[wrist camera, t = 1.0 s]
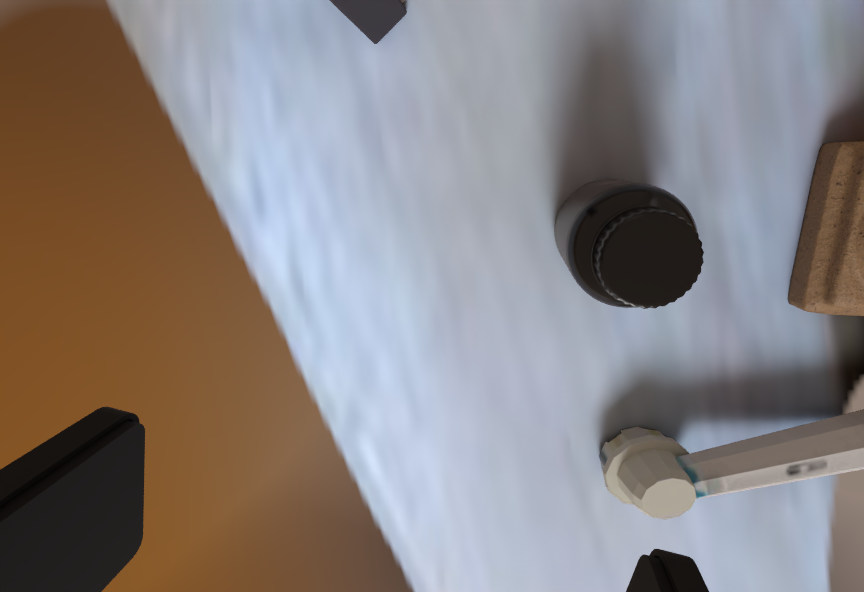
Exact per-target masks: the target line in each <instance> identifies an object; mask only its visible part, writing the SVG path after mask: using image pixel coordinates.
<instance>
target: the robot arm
mask: <svg viewBox="0 0 864 592" xmlns="http://www.w3.org/2000/svg"><path fill="white" fill-rule="evenodd" d="M144 449H145V428H144V426H143V425H142V424H140V423H139V418H138V417H137V415H135V414H133V413H129V412H126V411H122V410H118V409H114V408H110V407H102V408H100V409H97V410H96V411H94V412H92V413H91V414H89V415H88V416H86V417H84V418H83V419H81V420H80V421H78V422H76V423H75V424H73V425H71V426H70V427H68V428H67V429H65V430H63V431H62V432H60V433H59V434H57V435H55V436H54V437H52V438H50V439H49V440H47V441H46V442H44V443H42V444H41V445H39V446H38V447H36V448H34V449H33V450H32V451H30V452H28V453H26V454H25V455H23V456H22V457H20V458H19V459H17V460H15V461H14V462H12V463H10V464H9V465H7V466H5V467H4V468H2V469H1V470H0V592H101V591H102V590H103V589H104V588H105V587H106V586H107V585H108V584H109V582H111V580H112V579H113V578H114V577H115V576H116V575H117V574H118V573H119V572H120V571H121V570H122V569H123V568H124V566H125V565H126V564H127V563H128V562H129V561H130V560H131V559H132V558H133V556H134V555H135V554H136V552H137V551H138V549H139V547H140V545H141V541H142V537H143V506H144V505H143V504H144V454H145V453H144V452H145V451H144ZM626 592H709V591H708V589H707V586H706V584H705V582H704V580H703V578H702V576H701V574H700V572H699V570H698V567H697V565H696V564H695V562H694V561H693V559H691V558H690V557H687V556H684V555H680V554H676V553H672V552H668V551H664V550H660V549H654V550H653V551H652V552H651V554H650V556H648V555H642V556H641V557H640V559H639V561H638V563H637V566H636V568H635V571H634V573H633V576H632V578H631V581H630V583H629V586H628V588H627V591H626Z"/></svg>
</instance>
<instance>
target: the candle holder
mask: <svg viewBox="0 0 864 592" xmlns="http://www.w3.org/2000/svg"><path fill="white" fill-rule="evenodd" d="M788 301H789V304H791V305H793V306H796V307H798V308H800V309H802V310H805V311H808V312H815V313H824V314H834V315H855V316H864V141H856V142H832V143H827V144H823V146H822V148H821V149H820V151H819V155H818V159H817V162H816V166H815V170H814V174H813V178H812V183H811V188H810V192H809V197H808V202H807V206H806V211H805V216H804V220H803V225H802V230H801V234H800V239H799V244H798V248H797V253H796V258H795V262H794V267H793V272H792V276H791V282H790V288H789V295H788Z"/></svg>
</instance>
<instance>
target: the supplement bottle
mask: <svg viewBox="0 0 864 592" xmlns="http://www.w3.org/2000/svg"><path fill="white" fill-rule="evenodd" d="M698 237H699V236H698V232H697V227H696V224H695V221H694V219H693V217H692V215H691V213H690V212H689V210H688V208H687V207H686V206H685V205H684V204H683V203H682V202H681V201H680V200H679V199H678V198H677V197H675V196H674V195H673V194H671V193H669V192H667V191H665V190H663V189H661V188H658V187H655V186H651V185H647V184H641V183H634V182H628V181H621V180H599V181H595V182H592V183H589V184H587V185H585V186H583V187H581V188H579V189H578V190H576V191H575V192H574V193H573V194H571V195H570V196H569V197H568V199H567V200H566V201H565V202H564V204H563V205H562V207H561V209H560V211H559V213H558V215H557V219H556V223H555V241H556V245H557V248H558V250H559V253H560V255H561V257H562V258H563V260H564V262H565V264H566V265H567V267H568V269H569V271H570V272H571V274H572V276H573V277H574V279H575V280H576V282H577V283H578V284H579V286H580V287H581V288H582V289H583V290H584V291H585V292H586V293H587V294H589V295H590V296H591V297H593V298H594V299H596V300H598V301H600V302H602V303H605V304H608V305H611V306H616V307H624V308H633V307H641V308H644V309H646V308H649V307H651V308H657V307H658V306H665V305H667V304H668V303H670V302H675V301H676V300H677V298H679V297H682V296H683V295H684V294H685V292H686V291H688V290H690V289H691V287H692V284H693V283H695V282H696V281H697V276H698V275H699V274H700V272H701V266H702V264H703V258H702V256H703V253H704V252H703V250H702V248H701V247H702V242H701V241H700V240H699V238H698Z"/></svg>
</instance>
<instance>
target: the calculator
mask: <svg viewBox="0 0 864 592" xmlns="http://www.w3.org/2000/svg"><path fill="white" fill-rule="evenodd" d="M330 1H331V2H332V3H333V4H334V5H335V6H336V7H337V8H338V9H339V10H340V11H341V12H342V13H343V14H344V15H345V16H346V17H347V18H348V19H349V20H350V21H352V22H353V23H354V24H355V25H356V26H357V27H358V28H359V29H360V30H361V31H362V32H363V33H364V34H365V35H366V36H367V37H368V38H369V39H370V40H371V41H372V42H373V43H374V44H377V43H378V42H379V41H380V40H381V39H382V38H383V37H384V36H385V35H386V34H387V33H388V32H389V31H390V30H391V29H392V28H393V27H394V26H395V25H396V24H397V23H398V22H399V21H400V20H401V19H402V17H403V16H404V15H405V14H406V13H407V11H406V9H405V7H404V6H403V4H402V3H403V2H404V1H405V0H330Z"/></svg>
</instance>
